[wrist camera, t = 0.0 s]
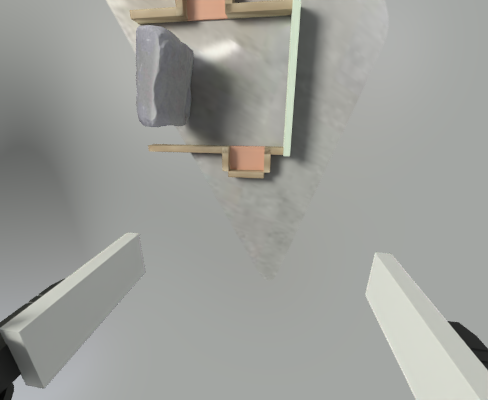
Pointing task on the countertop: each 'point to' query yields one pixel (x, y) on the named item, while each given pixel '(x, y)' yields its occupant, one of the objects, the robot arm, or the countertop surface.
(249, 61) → the countertop surface
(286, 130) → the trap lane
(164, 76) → the stone block
